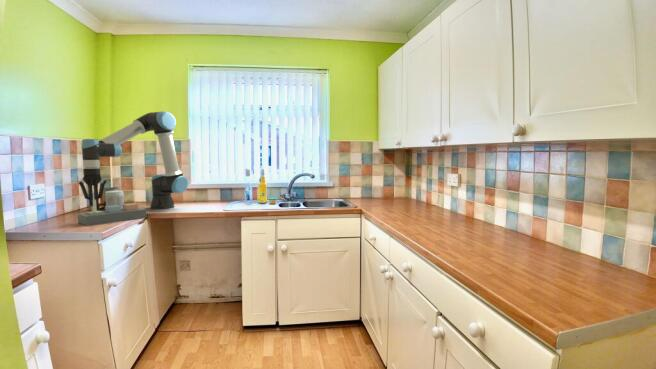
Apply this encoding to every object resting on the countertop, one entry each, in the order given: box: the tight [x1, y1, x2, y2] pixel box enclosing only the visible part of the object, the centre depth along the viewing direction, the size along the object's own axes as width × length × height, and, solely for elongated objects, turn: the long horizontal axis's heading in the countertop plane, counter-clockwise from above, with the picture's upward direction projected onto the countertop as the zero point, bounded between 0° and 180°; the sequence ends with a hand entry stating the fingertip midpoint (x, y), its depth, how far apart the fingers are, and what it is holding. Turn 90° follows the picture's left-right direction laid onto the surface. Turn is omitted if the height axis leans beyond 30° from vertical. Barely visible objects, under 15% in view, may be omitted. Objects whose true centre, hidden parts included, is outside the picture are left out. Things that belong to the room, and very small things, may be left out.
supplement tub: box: [105, 190, 125, 209], centre depth 212 cm, size 10×10×15 cm
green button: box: [85, 210, 103, 215], centre depth 189 cm, size 6×6×4 cm
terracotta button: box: [122, 202, 139, 211], centre depth 203 cm, size 6×6×4 cm
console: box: [77, 207, 148, 227], centre depth 196 cm, size 30×14×5 cm, turn 140°
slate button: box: [104, 205, 121, 213], centre depth 196 cm, size 6×6×4 cm
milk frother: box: [96, 186, 119, 211], centre depth 235 cm, size 14×16×15 cm
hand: (94, 211), depth 189 cm, fingers closed
